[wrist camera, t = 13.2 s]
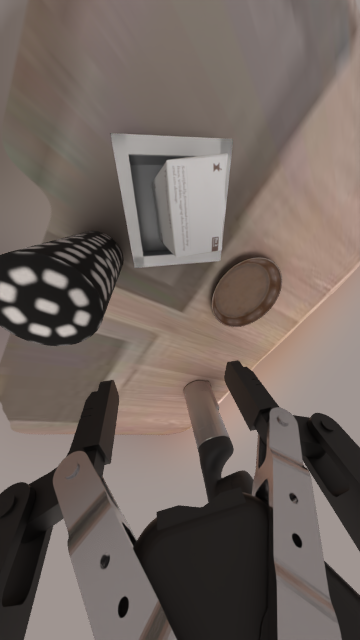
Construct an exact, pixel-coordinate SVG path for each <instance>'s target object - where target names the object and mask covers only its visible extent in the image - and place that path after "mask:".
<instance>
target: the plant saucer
mask: <svg viewBox="0 0 360 640" xmlns="http://www.w3.org/2000/svg"><path fill="white" fill-rule="evenodd" d="M281 287H282V275H281V271H280V269H279V267H278V266H277V265H276V264H275V263H274V262H273V261H271V260H269V259H267V258H261V257H257V258H250V259H247V260H244V261H242V262H240V263H238V264H236V265H235V266H233V267H232V268H231V269H229V270H228V271H227V272H226V273H225V274H224V275H223V277H222V278H221V279H220V281H219V282H218V284H217V286H216V288H215V290H214V293H213V297H212V310H213V314H214V316H215V317H216V319H217V320H218V321H219V322H220V323H222V324H224V325H226V326H230V327H241V326H245V325H248V324H251V323H253V322H255V321H256V320H258V319H260V318H261V317H262V316H264V315H265V314H266V313H267V312H268V311H269V310H270V309H271V307H272V306H273V305H274V303H275V302H276V300H277V298H278V296H279V294H280V291H281Z"/></svg>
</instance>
